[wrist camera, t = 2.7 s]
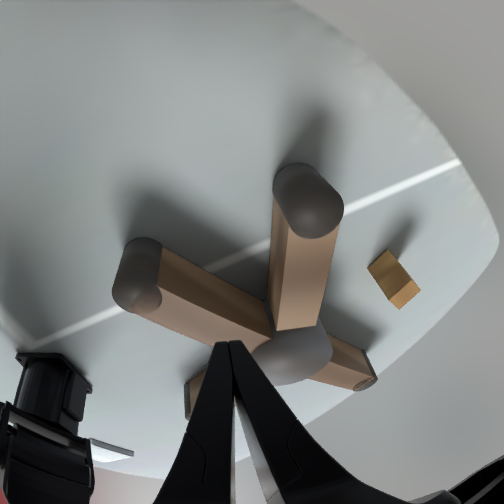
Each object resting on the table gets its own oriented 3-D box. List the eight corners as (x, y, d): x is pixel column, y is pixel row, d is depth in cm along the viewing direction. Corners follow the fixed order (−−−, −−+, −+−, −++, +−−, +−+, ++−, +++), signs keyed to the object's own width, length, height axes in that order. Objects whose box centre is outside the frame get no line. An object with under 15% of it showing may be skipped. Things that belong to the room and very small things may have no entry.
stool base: (277, 411, 32) (283, 437, 29) (70, 346, 20) (61, 382, 17) (432, 302, 24) (450, 328, 21) (232, 104, 12) (241, 115, 9)
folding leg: (303, 291, 19) (317, 325, 17) (265, 295, 19) (274, 331, 16) (322, 163, 14) (348, 186, 12) (273, 163, 14) (290, 186, 11)
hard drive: (91, 444, 33) (69, 452, 36) (134, 457, 37) (105, 463, 40) (92, 435, 34) (69, 444, 37) (134, 449, 38) (105, 456, 42)
